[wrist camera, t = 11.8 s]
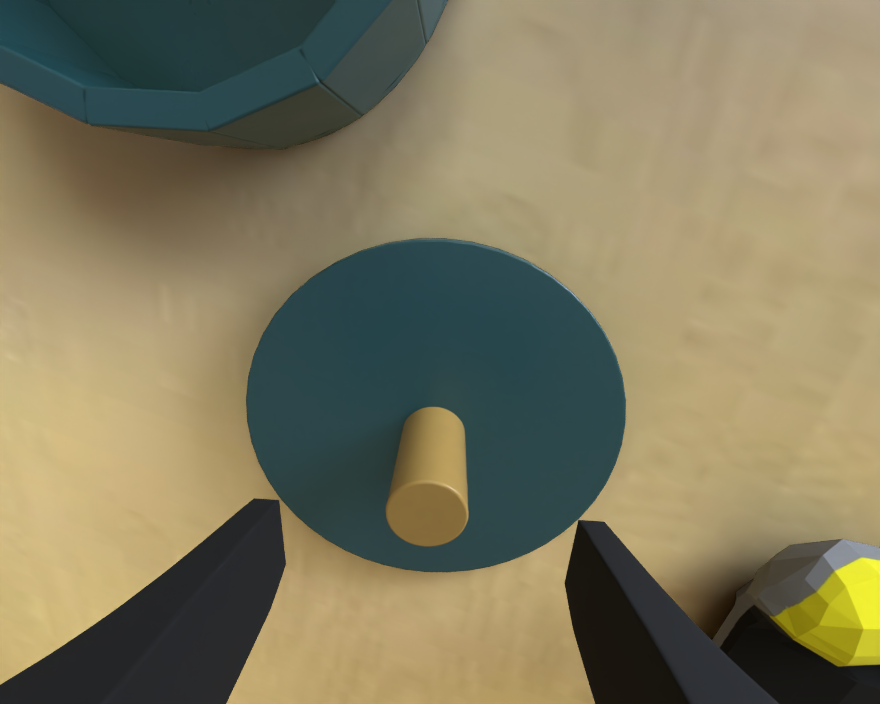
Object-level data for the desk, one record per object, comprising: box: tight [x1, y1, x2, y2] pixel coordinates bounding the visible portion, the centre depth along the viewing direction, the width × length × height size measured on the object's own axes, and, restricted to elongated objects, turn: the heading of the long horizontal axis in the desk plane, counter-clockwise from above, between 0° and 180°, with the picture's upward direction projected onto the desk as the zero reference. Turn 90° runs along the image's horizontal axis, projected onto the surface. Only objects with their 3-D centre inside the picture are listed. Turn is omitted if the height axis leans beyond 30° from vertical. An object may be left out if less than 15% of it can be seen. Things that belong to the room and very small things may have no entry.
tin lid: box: [246, 238, 626, 572], centre depth 13 cm, size 13×13×5 cm
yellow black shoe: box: [712, 539, 880, 704], centre depth 17 cm, size 15×6×10 cm
